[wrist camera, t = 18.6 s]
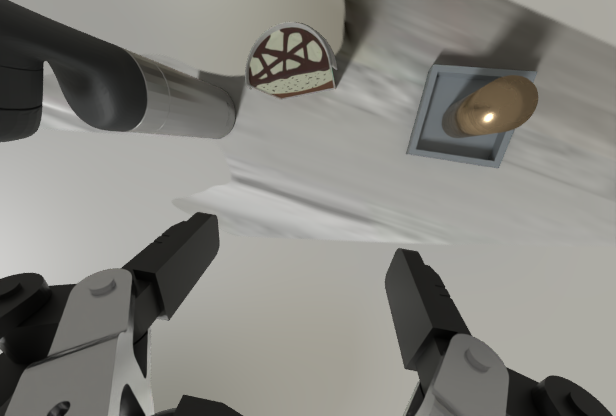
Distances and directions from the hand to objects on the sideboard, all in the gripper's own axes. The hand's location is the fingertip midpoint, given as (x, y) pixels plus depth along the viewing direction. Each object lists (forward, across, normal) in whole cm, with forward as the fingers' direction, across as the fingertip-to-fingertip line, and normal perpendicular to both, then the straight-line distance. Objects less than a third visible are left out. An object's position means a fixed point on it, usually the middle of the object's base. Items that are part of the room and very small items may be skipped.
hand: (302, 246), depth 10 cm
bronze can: (+28, -18, -5) cm, 34 cm away
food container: (+34, +5, -8) cm, 35 cm away
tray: (+28, -18, -5) cm, 34 cm away
